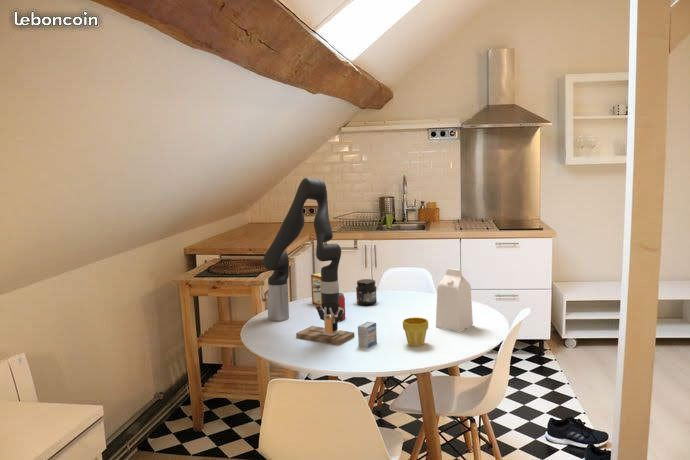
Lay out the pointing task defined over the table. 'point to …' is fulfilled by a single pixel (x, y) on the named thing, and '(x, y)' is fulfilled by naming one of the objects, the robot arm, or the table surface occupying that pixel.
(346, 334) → the fader board
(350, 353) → the table surface
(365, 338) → the medicine box
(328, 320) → the fader tab
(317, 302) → the baking soda box
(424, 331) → the plant pot
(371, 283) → the supplement container
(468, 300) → the milk
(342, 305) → the beer can
